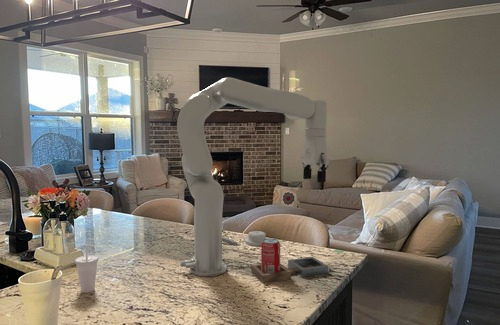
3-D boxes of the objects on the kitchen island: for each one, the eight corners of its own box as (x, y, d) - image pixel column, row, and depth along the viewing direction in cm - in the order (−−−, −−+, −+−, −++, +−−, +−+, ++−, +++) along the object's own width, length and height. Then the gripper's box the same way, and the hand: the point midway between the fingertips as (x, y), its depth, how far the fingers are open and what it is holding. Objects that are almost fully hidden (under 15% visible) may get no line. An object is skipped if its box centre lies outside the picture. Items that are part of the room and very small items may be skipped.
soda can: (259, 278, 121) (260, 242, 120) (262, 271, 127) (262, 237, 126) (279, 280, 120) (279, 243, 119) (280, 272, 126) (281, 238, 125)
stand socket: (262, 283, 117) (262, 275, 117) (251, 272, 126) (251, 265, 126) (290, 279, 121) (291, 271, 121) (277, 268, 130) (277, 261, 130)
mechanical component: (243, 245, 157) (266, 247, 155) (243, 235, 156) (266, 236, 154) (248, 239, 166) (270, 240, 164) (248, 229, 166) (270, 230, 164)
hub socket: (290, 279, 121) (291, 271, 121) (277, 268, 130) (277, 261, 130) (328, 273, 126) (328, 266, 126) (312, 263, 135) (312, 256, 135)
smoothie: (75, 296, 108) (74, 248, 107) (76, 287, 114) (74, 242, 112) (99, 292, 110) (98, 246, 109) (99, 284, 116) (97, 240, 115)
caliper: (196, 240, 164) (196, 226, 164) (198, 239, 165) (197, 225, 165) (238, 246, 156) (238, 231, 156) (239, 245, 157) (239, 230, 157)
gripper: (295, 133, 143) (293, 177, 145) (319, 134, 127) (318, 183, 129) (311, 133, 146) (310, 177, 147) (338, 134, 130) (336, 183, 131)
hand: (314, 180), depth 138 cm, fingers open, 9 cm apart
